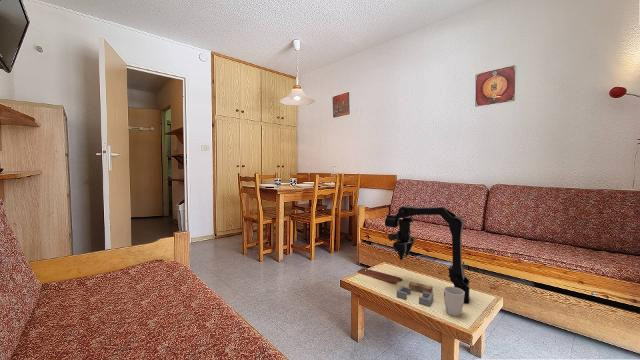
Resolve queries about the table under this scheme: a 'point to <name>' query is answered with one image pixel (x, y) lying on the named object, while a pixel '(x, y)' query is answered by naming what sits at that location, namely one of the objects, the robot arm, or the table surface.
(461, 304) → the cup
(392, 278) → the wooden tablet
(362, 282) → the table surface
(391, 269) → the table surface
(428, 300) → the end cap
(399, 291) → the end cap
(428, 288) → the slat
